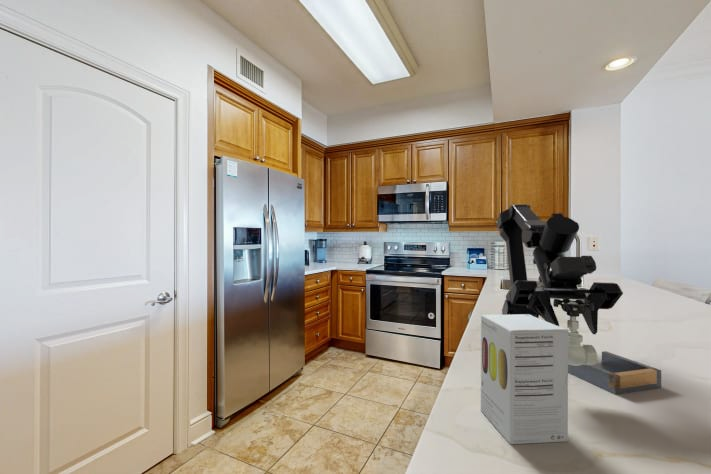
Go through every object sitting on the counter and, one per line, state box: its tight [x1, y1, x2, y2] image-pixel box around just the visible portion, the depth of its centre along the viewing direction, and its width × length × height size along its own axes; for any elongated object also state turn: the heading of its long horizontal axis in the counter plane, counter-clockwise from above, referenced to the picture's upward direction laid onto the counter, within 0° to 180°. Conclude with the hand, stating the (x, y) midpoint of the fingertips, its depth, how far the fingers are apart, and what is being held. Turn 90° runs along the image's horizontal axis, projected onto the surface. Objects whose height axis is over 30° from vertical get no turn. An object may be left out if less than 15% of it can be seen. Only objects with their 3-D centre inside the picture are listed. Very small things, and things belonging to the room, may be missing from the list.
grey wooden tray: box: [568, 350, 662, 395], centre depth 67 cm, size 11×12×4 cm
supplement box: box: [480, 314, 569, 445], centre depth 50 cm, size 10×9×17 cm
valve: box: [552, 299, 598, 366], centre depth 59 cm, size 7×7×12 cm
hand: (576, 332), depth 58 cm, fingers closed on valve, 6 cm apart
